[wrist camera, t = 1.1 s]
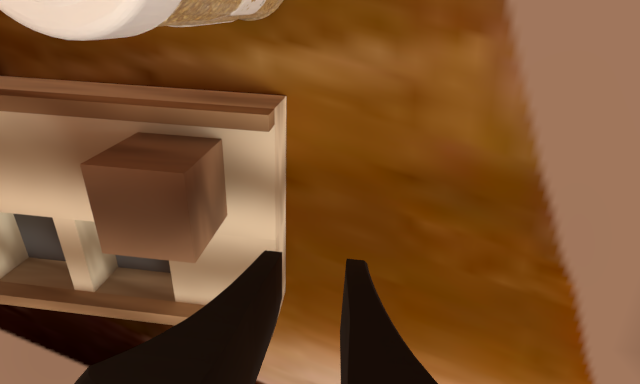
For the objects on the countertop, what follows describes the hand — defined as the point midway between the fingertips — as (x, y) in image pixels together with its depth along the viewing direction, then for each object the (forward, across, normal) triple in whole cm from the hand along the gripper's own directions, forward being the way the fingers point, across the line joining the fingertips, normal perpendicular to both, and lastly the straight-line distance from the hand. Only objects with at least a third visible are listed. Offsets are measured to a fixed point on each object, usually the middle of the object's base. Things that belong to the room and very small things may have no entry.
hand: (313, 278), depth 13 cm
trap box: (+10, +16, +3) cm, 19 cm away
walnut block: (+7, +8, 0) cm, 11 cm away
